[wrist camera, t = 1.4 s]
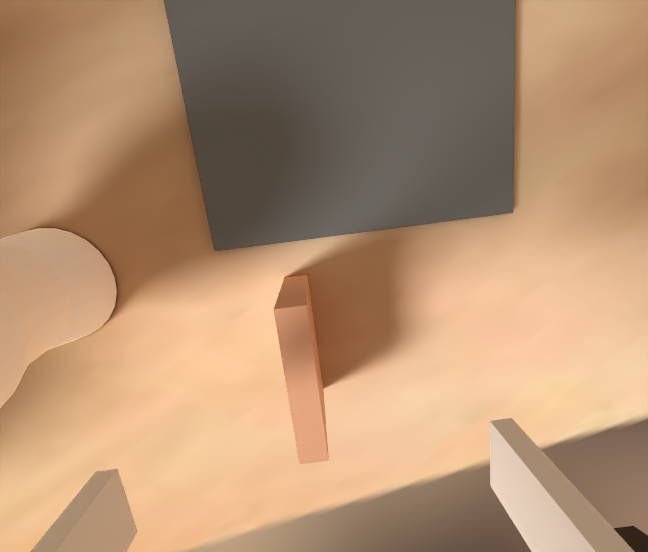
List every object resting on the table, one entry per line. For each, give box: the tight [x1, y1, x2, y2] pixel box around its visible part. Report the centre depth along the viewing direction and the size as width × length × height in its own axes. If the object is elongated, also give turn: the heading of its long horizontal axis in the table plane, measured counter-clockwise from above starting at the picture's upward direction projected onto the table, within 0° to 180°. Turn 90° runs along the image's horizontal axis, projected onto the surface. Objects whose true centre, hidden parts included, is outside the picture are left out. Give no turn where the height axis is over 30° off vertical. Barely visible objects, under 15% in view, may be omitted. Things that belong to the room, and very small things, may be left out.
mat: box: [164, 0, 515, 251], centre depth 20 cm, size 20×16×1 cm
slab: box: [274, 275, 329, 464], centre depth 20 cm, size 2×9×7 cm, turn 7°
